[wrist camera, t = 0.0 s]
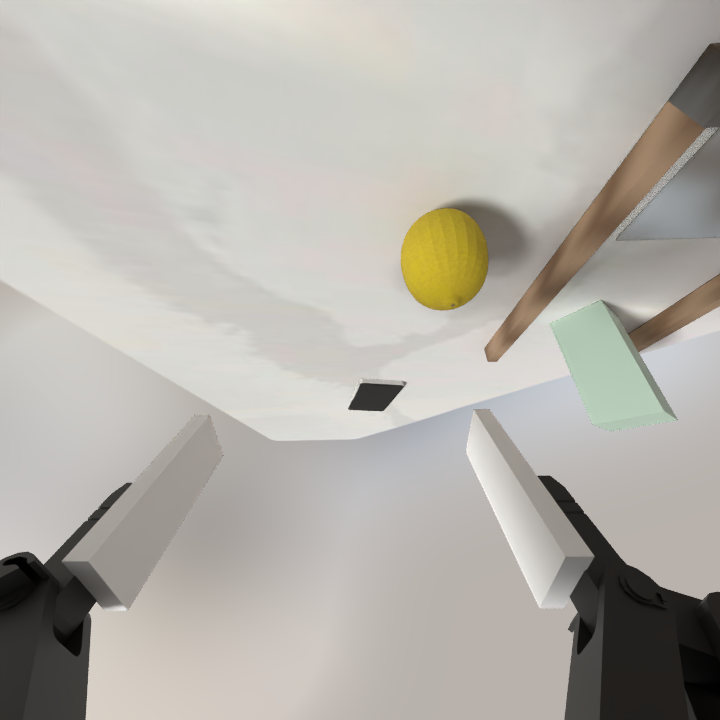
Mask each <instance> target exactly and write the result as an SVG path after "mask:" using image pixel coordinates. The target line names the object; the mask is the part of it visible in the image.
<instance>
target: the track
mask: <svg viewBox="0 0 720 720" xmlns="http://www.w3.org/2000/svg"><path fill="white" fill-rule="evenodd" d="M707 127H720V43H716V44H710V45H709V46H708V47H707V49H706V50H705V51H704V53H703V54H702V56H701V57H700V58H699V60H698V61H697V62H696V64H695V65H694V66H693V68H692V69H691V70H690V72H689V73H688V74H687V76H686V77H685V78H684V80H683V81H682V83H681V84H680V85H679V87H678V88H677V89H676V91H675V92H674V93H673V95H672V96H671V97H670V99H669V100H668V101H667V103H666V104H665V105H664V107H663V108H662V110H661V111H660V112H659V114H658V115H657V116H656V118H655V119H654V120H653V122H652V123H651V124H650V126H649V127H648V128H647V130H646V131H645V132H644V134H643V135H642V137H641V138H640V139H639V141H638V142H637V143H636V145H635V146H634V147H633V149H632V150H631V151H630V153H629V154H628V155H627V157H626V158H625V159H624V161H623V162H622V164H621V165H620V166H619V168H618V169H617V170H616V172H615V173H614V174H613V176H612V177H611V178H610V180H609V181H608V182H607V184H606V185H605V186H604V188H603V189H602V191H601V192H600V193H599V195H598V196H597V197H596V199H595V200H594V201H593V203H592V204H591V205H590V207H589V208H588V209H587V211H586V212H585V213H584V215H583V216H582V218H581V219H580V220H579V222H578V223H577V224H576V226H575V227H574V228H573V230H572V231H571V232H570V234H569V235H568V236H567V238H566V239H565V240H564V242H563V243H562V245H561V246H560V247H559V249H558V250H557V251H556V253H555V254H554V255H553V257H552V258H551V259H550V261H549V262H548V263H547V265H546V266H545V267H544V269H543V270H542V272H541V273H540V274H539V276H538V277H537V278H536V280H535V281H534V282H533V284H532V285H531V286H530V288H529V289H528V290H527V292H526V293H525V294H524V296H523V297H522V299H521V300H520V301H519V303H518V304H517V305H516V307H515V308H514V309H513V311H512V312H511V313H510V315H509V316H508V317H507V319H506V320H505V321H504V323H503V324H502V326H501V327H500V328H499V330H498V331H497V332H496V334H495V335H494V336H493V338H492V339H491V340H490V342H489V343H488V344H487V346H486V347H485V348H484V350H485V353H486V357H487V361H488V362H497V361H498V360H499V359H500V358H501V356H502V355H503V354H504V353H505V352H506V351H507V350H508V349H509V347H510V346H511V345H512V344H513V343H514V342H515V341H516V340H517V339H518V337H519V336H520V335H521V334H522V333H523V332H524V331H525V330H526V328H527V327H528V326H529V325H530V324H531V323H532V322H533V321H534V319H535V318H536V317H537V316H538V315H539V314H540V313H541V312H542V311H543V309H544V308H545V307H546V306H547V305H548V304H549V303H550V302H551V300H552V299H553V298H554V297H555V296H556V295H557V294H558V293H559V292H560V290H561V289H562V288H563V287H564V286H565V285H566V284H567V283H568V281H569V280H570V279H571V278H572V277H573V276H574V275H575V274H576V273H577V271H578V270H579V269H580V268H581V267H582V266H583V265H584V264H585V262H586V261H587V260H588V259H589V258H590V257H591V256H592V255H593V254H594V252H595V251H596V250H597V249H598V248H599V247H600V246H601V245H602V243H603V242H604V241H605V240H606V239H607V238H608V237H609V236H610V234H611V233H612V232H613V231H614V230H615V229H616V228H617V227H618V226H619V224H620V223H621V222H622V221H623V220H624V219H625V218H626V217H627V215H628V214H629V213H630V212H631V211H632V210H633V209H634V208H635V207H636V205H637V204H638V203H639V202H640V201H641V200H642V199H643V198H644V196H645V195H646V194H647V193H648V192H649V191H650V190H651V189H652V188H653V186H654V185H655V184H656V183H657V182H658V181H659V180H660V179H661V177H662V176H663V175H664V174H665V173H666V172H667V171H668V170H669V169H670V167H671V166H672V165H673V164H674V163H675V162H676V161H677V160H678V158H679V157H680V156H681V155H682V154H683V153H684V152H685V151H686V150H687V148H688V147H689V146H690V145H691V144H692V143H693V142H694V141H695V139H696V138H697V137H698V136H699V135H700V134H701V133H702V132H703V130H704V129H705V128H707ZM717 237H720V128H719V129H718V130H717V131H716V132H715V133H714V134H713V135H712V137H711V138H710V139H709V140H708V141H707V142H706V143H705V144H704V145H703V146H702V147H701V148H700V149H699V150H698V152H697V153H696V154H695V155H694V156H693V157H692V158H691V159H690V160H689V161H688V162H687V163H686V164H685V166H684V167H683V168H682V169H681V170H680V171H679V172H678V173H677V174H676V175H675V176H674V177H673V178H672V180H671V181H670V182H669V183H668V184H667V185H666V186H665V187H664V188H663V189H662V190H661V191H660V192H659V193H658V195H657V196H656V197H655V198H654V199H653V200H652V201H651V202H650V203H649V204H648V205H647V206H646V207H645V209H644V210H643V211H642V212H641V213H640V214H639V215H638V216H637V217H636V218H635V219H634V220H633V221H632V222H631V224H630V225H629V226H628V227H627V228H626V229H625V230H624V231H623V232H622V233H621V234H620V235H619V236H618V238H617V241H622V240H654V239H686V238H717ZM719 306H720V274H719V275H718V276H716V277H715V278H713V279H712V280H710V281H709V282H707V283H706V284H704V285H703V286H701V287H700V288H698V289H697V290H695V291H694V292H692V293H690V294H689V295H687V296H686V297H684V298H683V299H681V300H680V301H678V302H677V303H675V304H674V305H672V306H671V307H669V308H668V309H666V310H665V311H663V312H662V313H660V314H659V315H657V316H656V317H654V318H652V319H651V320H649V321H648V322H646V323H645V324H643V325H642V326H640V327H639V328H637V329H636V330H634V331H633V332H631V333H630V334H628V335H629V337H630V339H631V340H632V342H633V344H634V346H635V347H636V349H637V351H638V352H640V351H641V350H643V349H645V348H647V347H648V346H650V345H652V344H654V343H656V342H657V341H659V340H661V339H663V338H664V337H666V336H668V335H670V334H671V333H673V332H675V331H677V330H678V329H680V328H682V327H684V326H685V325H687V324H689V323H691V322H693V321H694V320H696V319H698V318H700V317H701V316H703V315H705V314H707V313H708V312H710V311H712V310H714V309H715V308H717V307H719Z"/></svg>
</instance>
